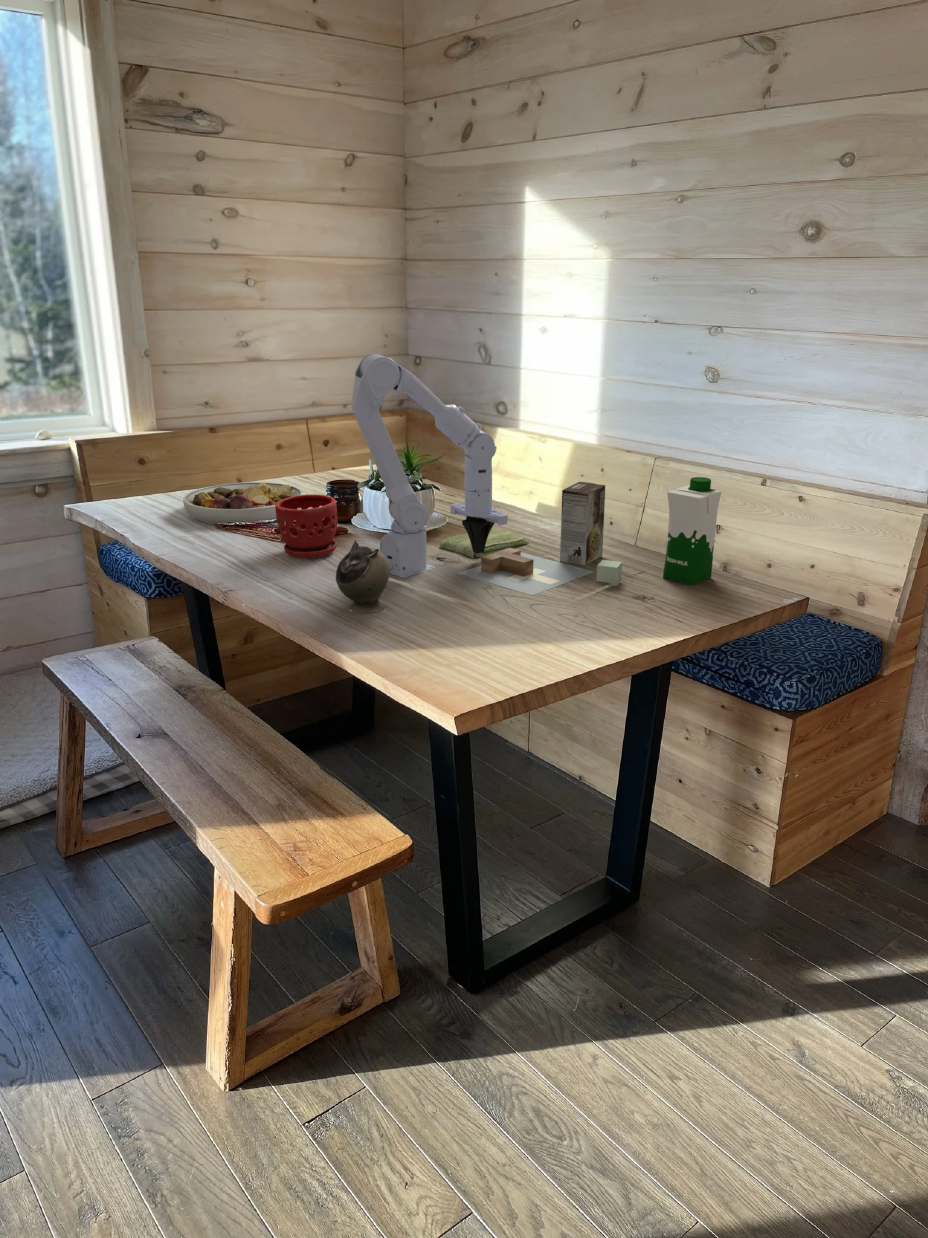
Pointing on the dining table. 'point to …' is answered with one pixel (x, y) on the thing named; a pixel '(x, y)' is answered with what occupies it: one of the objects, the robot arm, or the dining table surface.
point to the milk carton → (691, 531)
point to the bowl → (237, 501)
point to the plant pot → (307, 525)
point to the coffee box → (582, 523)
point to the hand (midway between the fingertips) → (478, 551)
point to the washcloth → (493, 544)
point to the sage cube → (609, 572)
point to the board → (531, 576)
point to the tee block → (507, 562)
